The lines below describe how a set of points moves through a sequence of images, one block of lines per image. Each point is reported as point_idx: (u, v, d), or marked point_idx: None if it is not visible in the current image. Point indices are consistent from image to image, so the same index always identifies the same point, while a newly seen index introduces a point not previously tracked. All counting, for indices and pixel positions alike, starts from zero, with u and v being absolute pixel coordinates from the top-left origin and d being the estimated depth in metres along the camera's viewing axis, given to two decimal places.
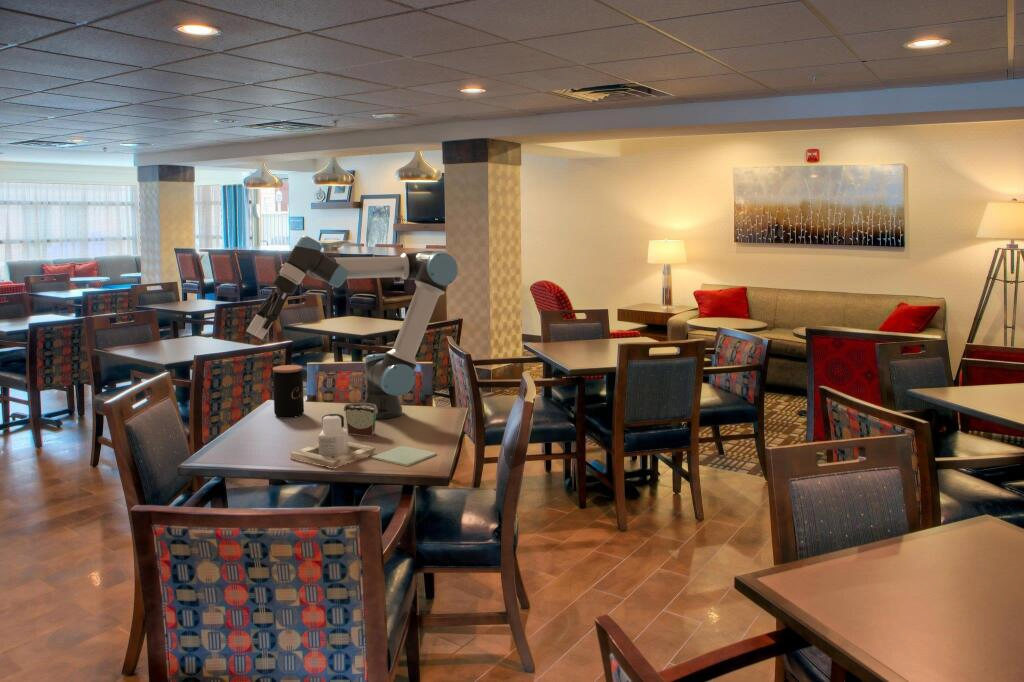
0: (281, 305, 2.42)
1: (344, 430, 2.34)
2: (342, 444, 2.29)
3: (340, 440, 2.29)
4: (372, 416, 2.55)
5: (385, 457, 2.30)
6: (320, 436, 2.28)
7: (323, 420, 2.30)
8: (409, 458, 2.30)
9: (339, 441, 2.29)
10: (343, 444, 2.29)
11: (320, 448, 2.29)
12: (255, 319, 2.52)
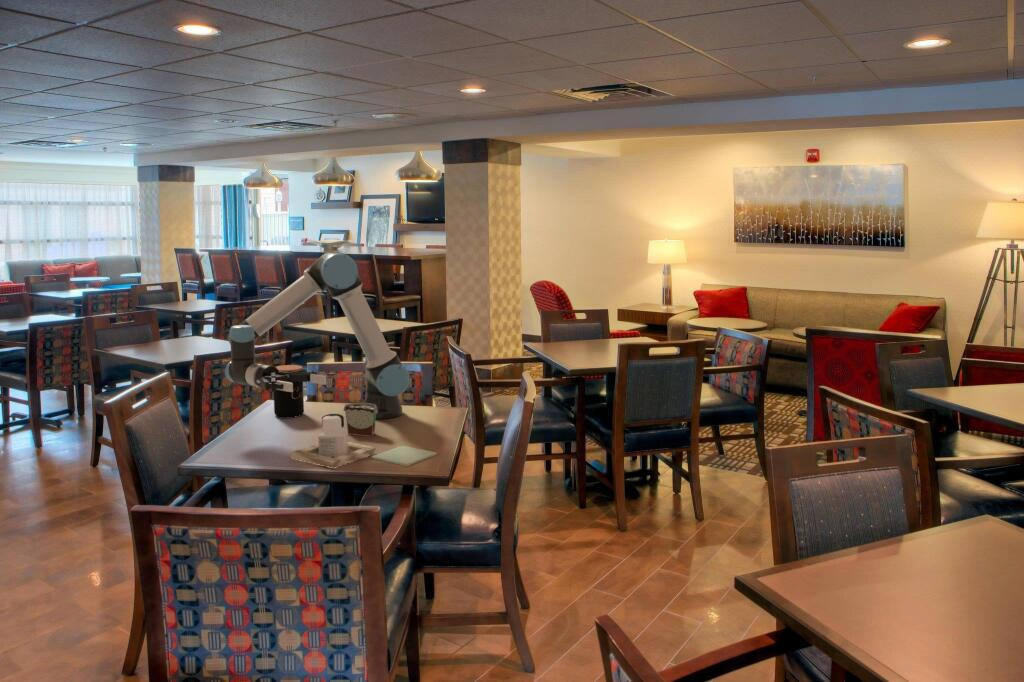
0: (261, 381, 2.35)
1: (344, 430, 2.34)
2: (342, 444, 2.29)
3: (340, 440, 2.29)
4: (372, 416, 2.55)
5: (385, 457, 2.30)
6: (320, 436, 2.28)
7: (323, 420, 2.30)
8: (409, 458, 2.30)
9: (339, 441, 2.29)
10: (343, 444, 2.29)
11: (320, 448, 2.29)
12: (314, 381, 2.44)
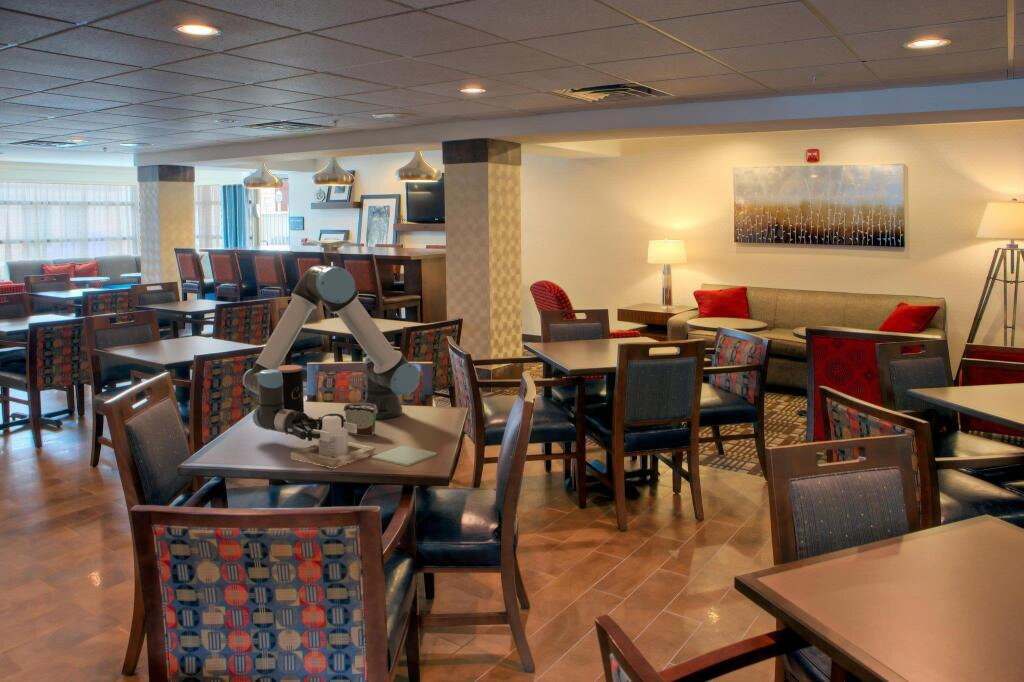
0: (295, 430, 2.31)
1: (344, 430, 2.34)
2: (342, 444, 2.29)
3: (340, 440, 2.29)
4: (372, 416, 2.55)
5: (385, 457, 2.30)
6: None
7: (323, 420, 2.30)
8: (409, 458, 2.30)
9: (339, 441, 2.29)
10: (343, 444, 2.29)
11: (320, 448, 2.29)
12: None
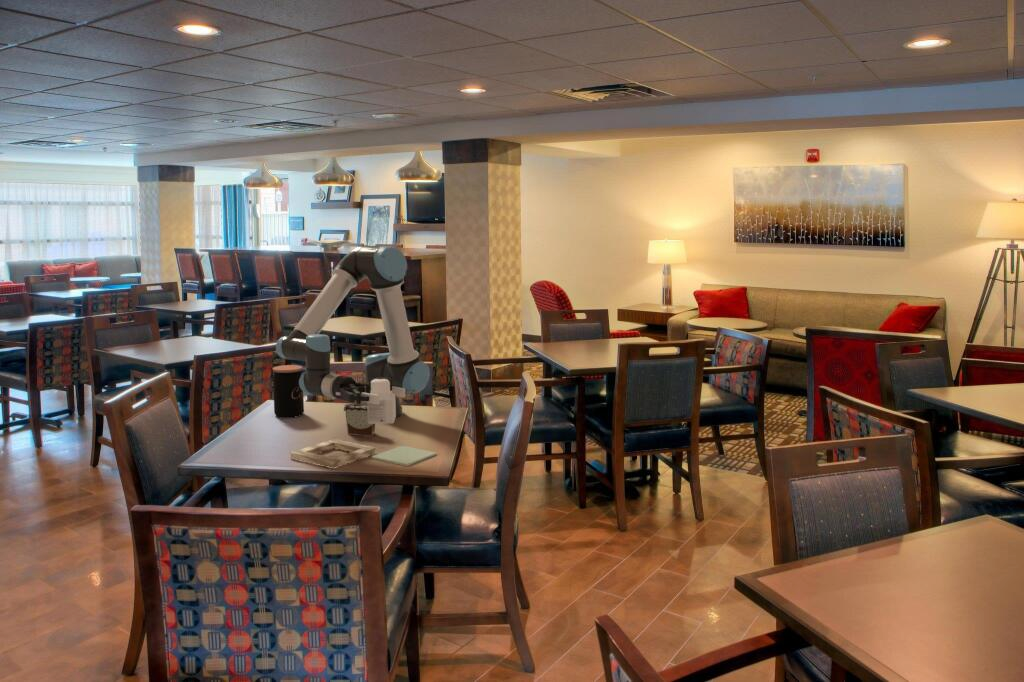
0: (343, 393, 2.28)
1: (392, 394, 2.31)
2: (391, 407, 2.26)
3: (389, 403, 2.26)
4: None
5: (385, 457, 2.30)
6: None
7: (372, 383, 2.27)
8: (409, 458, 2.30)
9: (387, 404, 2.26)
10: (392, 407, 2.26)
11: (369, 411, 2.26)
12: None
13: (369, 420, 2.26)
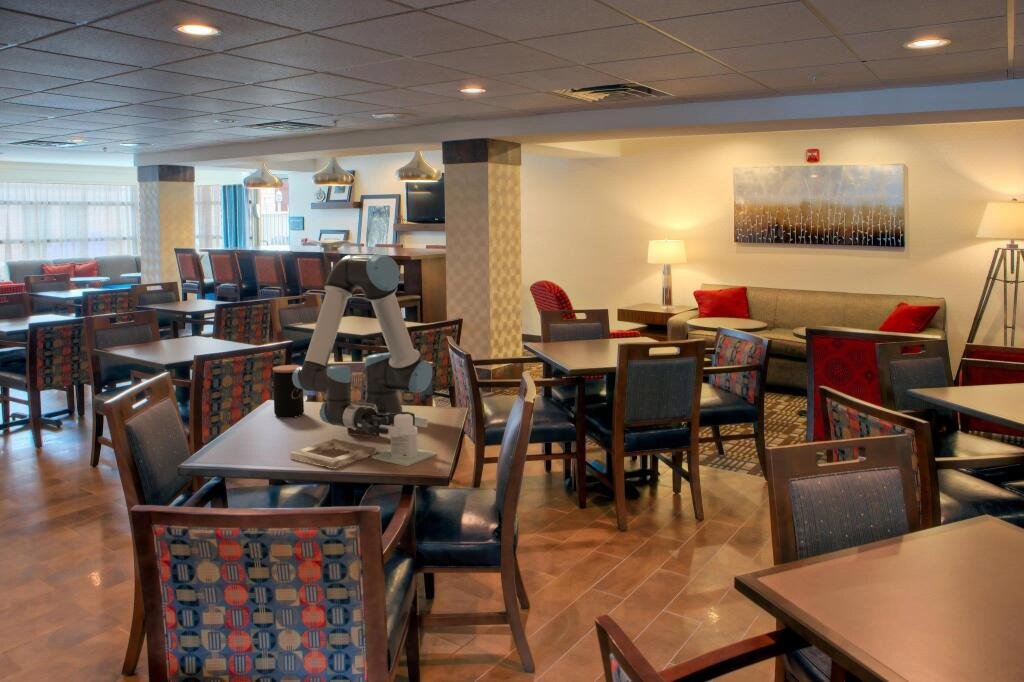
0: (363, 425, 2.31)
1: (415, 428, 2.34)
2: (414, 442, 2.30)
3: (412, 438, 2.29)
4: None
5: (385, 457, 2.30)
6: None
7: (395, 418, 2.30)
8: (409, 458, 2.30)
9: (411, 439, 2.29)
10: (415, 442, 2.30)
11: (392, 446, 2.29)
12: None
13: (392, 455, 2.30)
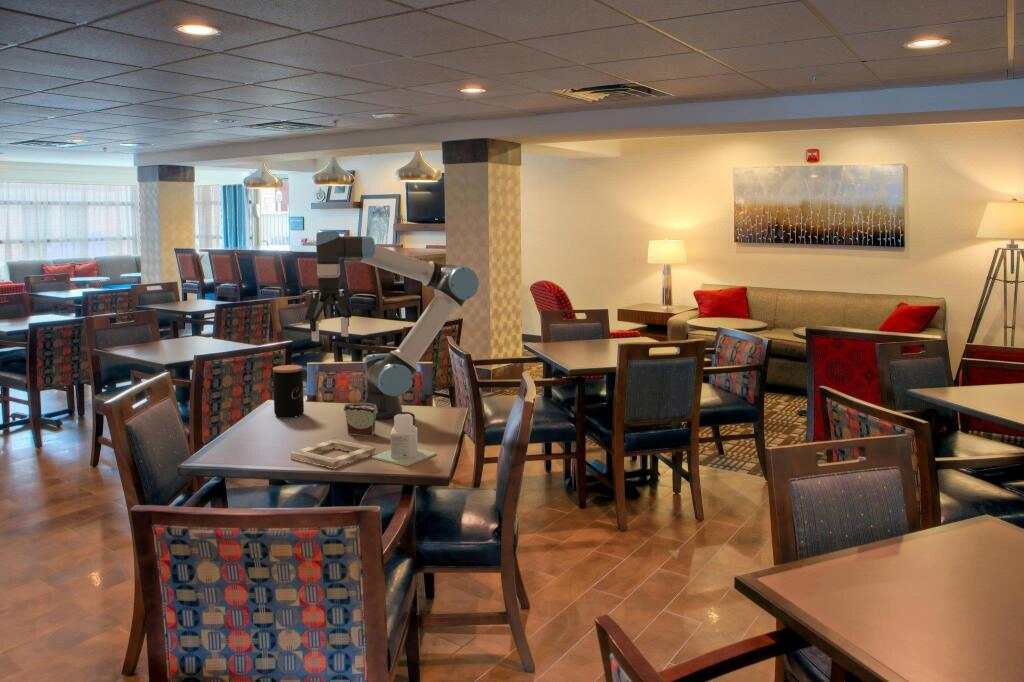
0: (313, 304, 2.52)
1: (415, 428, 2.34)
2: (414, 442, 2.30)
3: (412, 438, 2.29)
4: (372, 416, 2.55)
5: (385, 457, 2.30)
6: (392, 434, 2.29)
7: (395, 418, 2.30)
8: (409, 458, 2.30)
9: (411, 439, 2.29)
10: (415, 442, 2.30)
11: (392, 446, 2.29)
12: (341, 322, 2.66)
13: (392, 455, 2.30)
